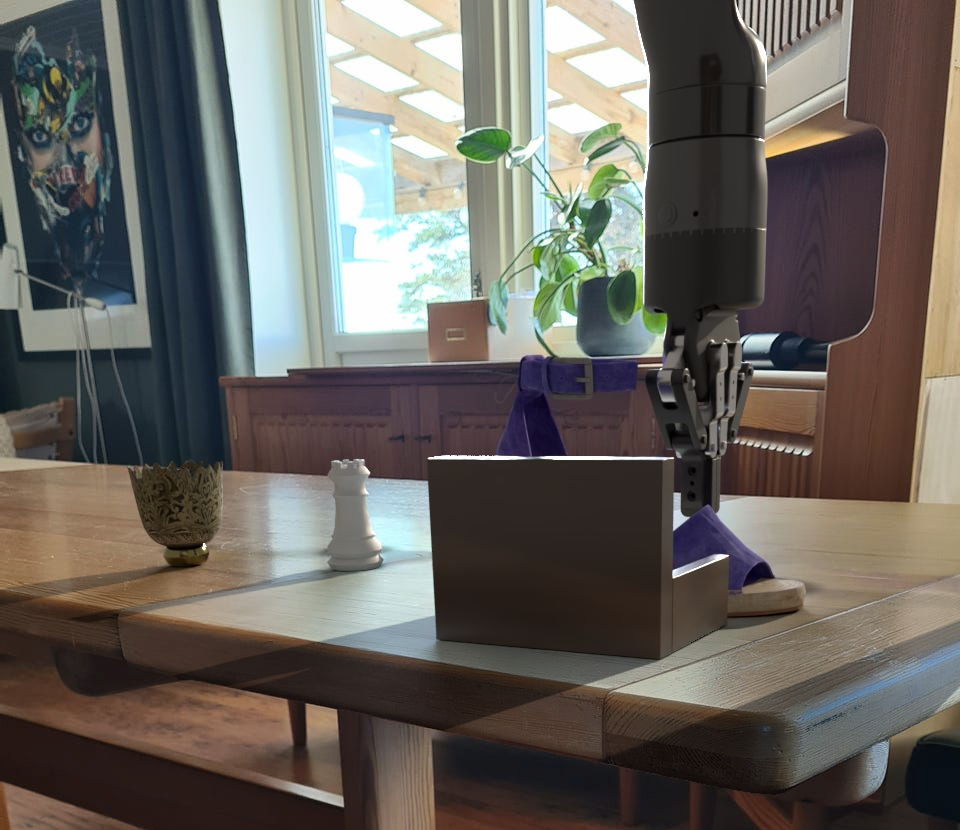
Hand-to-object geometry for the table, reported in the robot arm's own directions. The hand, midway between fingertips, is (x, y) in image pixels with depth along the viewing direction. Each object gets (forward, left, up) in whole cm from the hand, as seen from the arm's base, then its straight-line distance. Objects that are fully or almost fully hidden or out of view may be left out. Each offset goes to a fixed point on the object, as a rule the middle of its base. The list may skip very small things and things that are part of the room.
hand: (700, 515), depth 86 cm
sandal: (+8, -1, -5) cm, 9 cm away
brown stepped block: (+17, 0, -5) cm, 18 cm away
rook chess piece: (+1, -28, -5) cm, 29 cm away
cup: (+4, -43, -5) cm, 44 cm away
